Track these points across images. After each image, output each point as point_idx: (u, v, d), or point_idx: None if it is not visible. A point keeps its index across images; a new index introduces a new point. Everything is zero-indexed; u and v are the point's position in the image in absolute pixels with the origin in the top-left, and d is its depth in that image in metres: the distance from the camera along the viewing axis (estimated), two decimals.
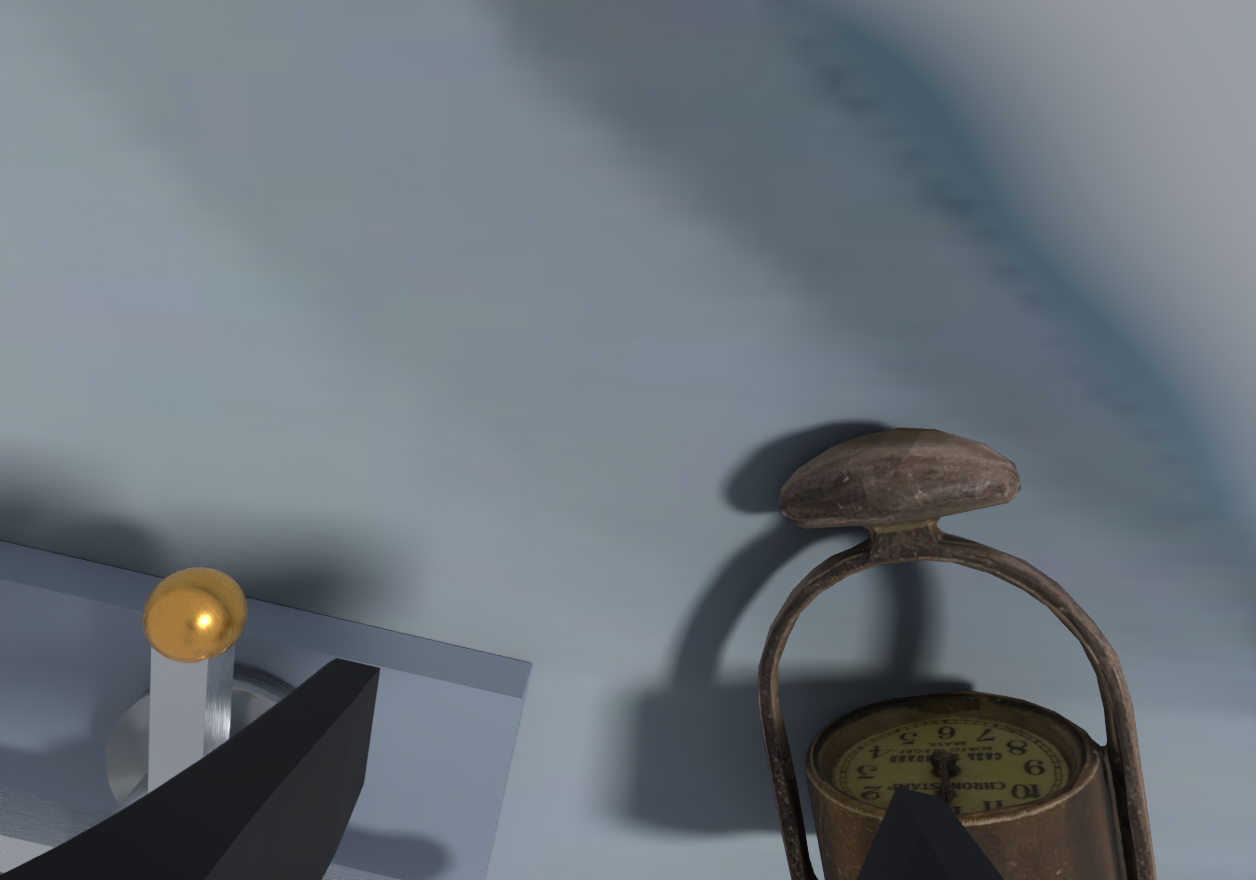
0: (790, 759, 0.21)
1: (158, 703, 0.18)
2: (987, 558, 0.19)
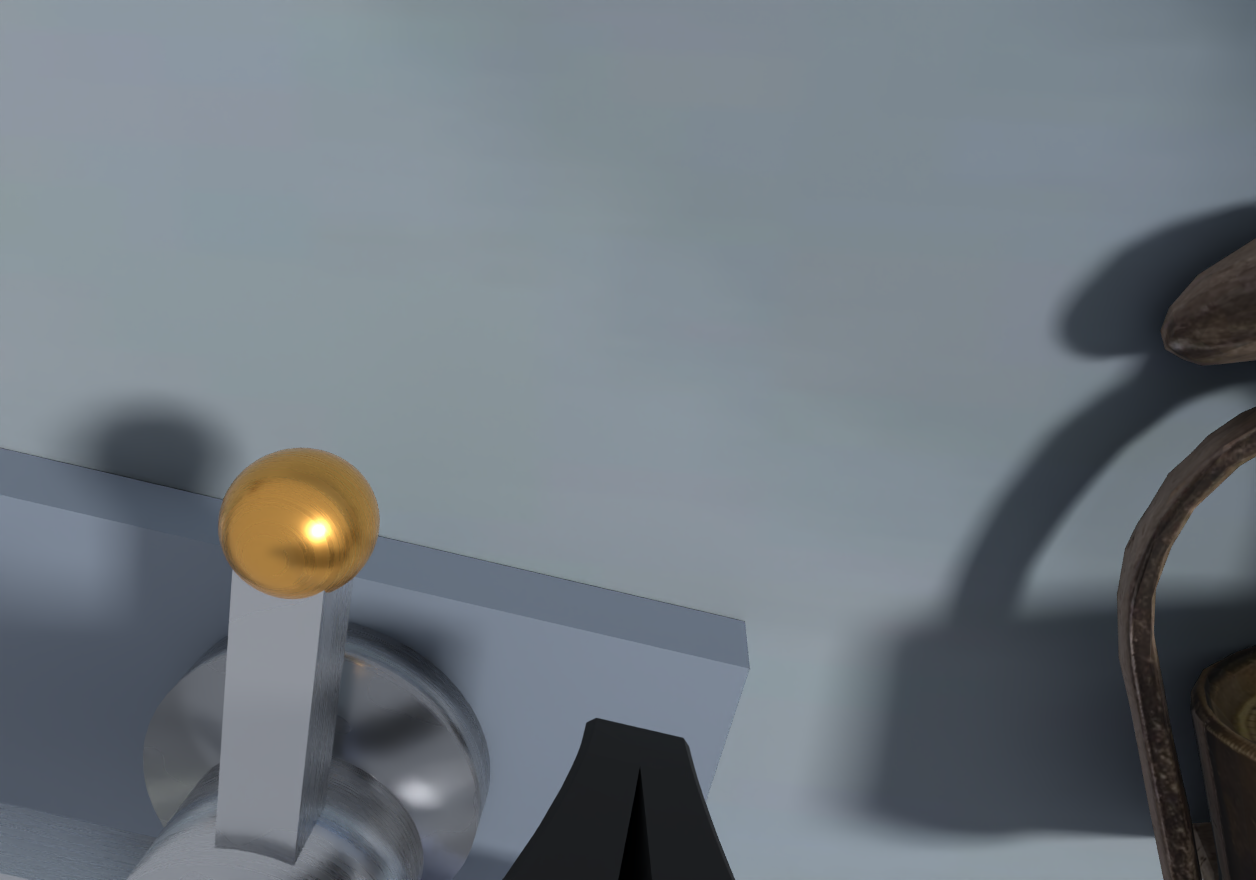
0: None
1: (239, 665, 0.12)
2: None
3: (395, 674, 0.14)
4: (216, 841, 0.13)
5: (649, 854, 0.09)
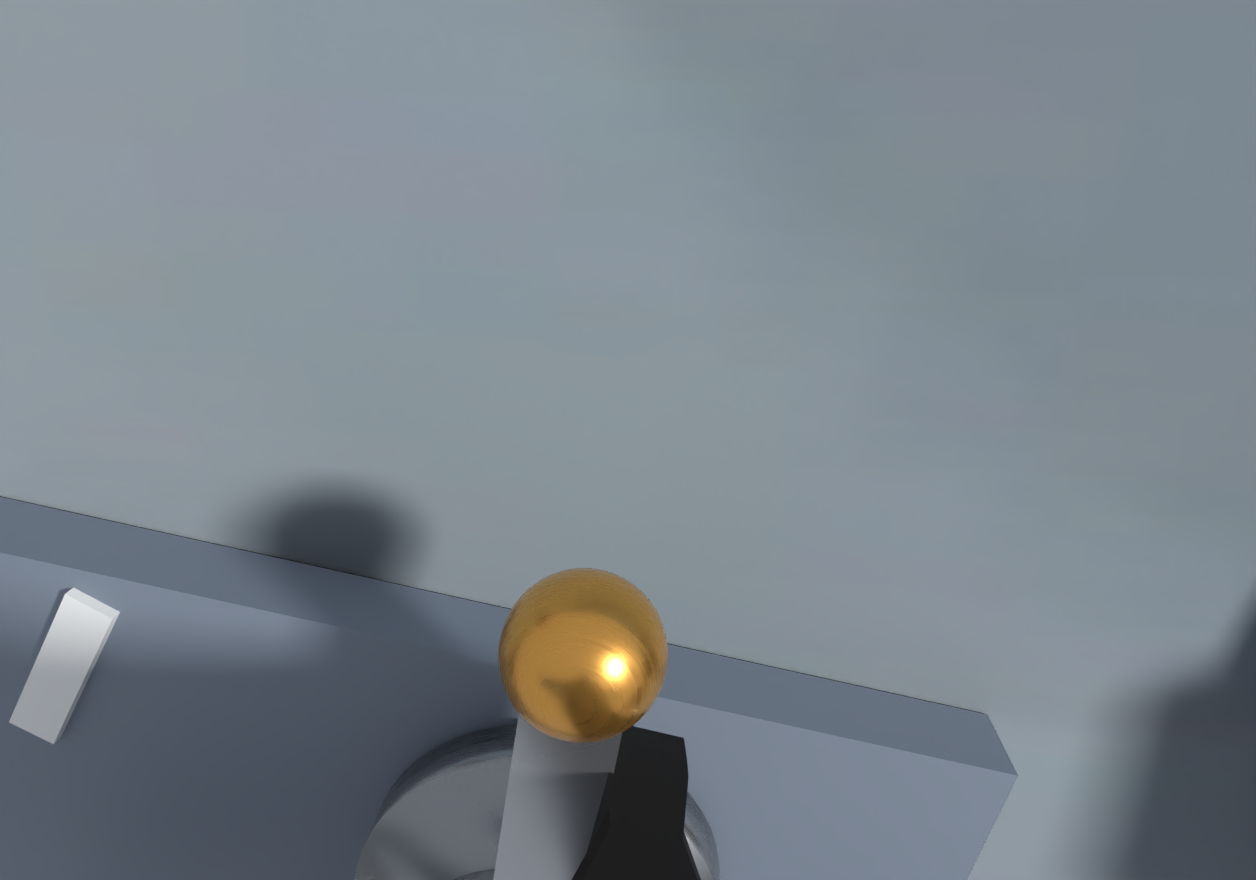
0: None
1: (518, 814, 0.10)
2: None
3: None
4: None
5: (612, 845, 0.09)
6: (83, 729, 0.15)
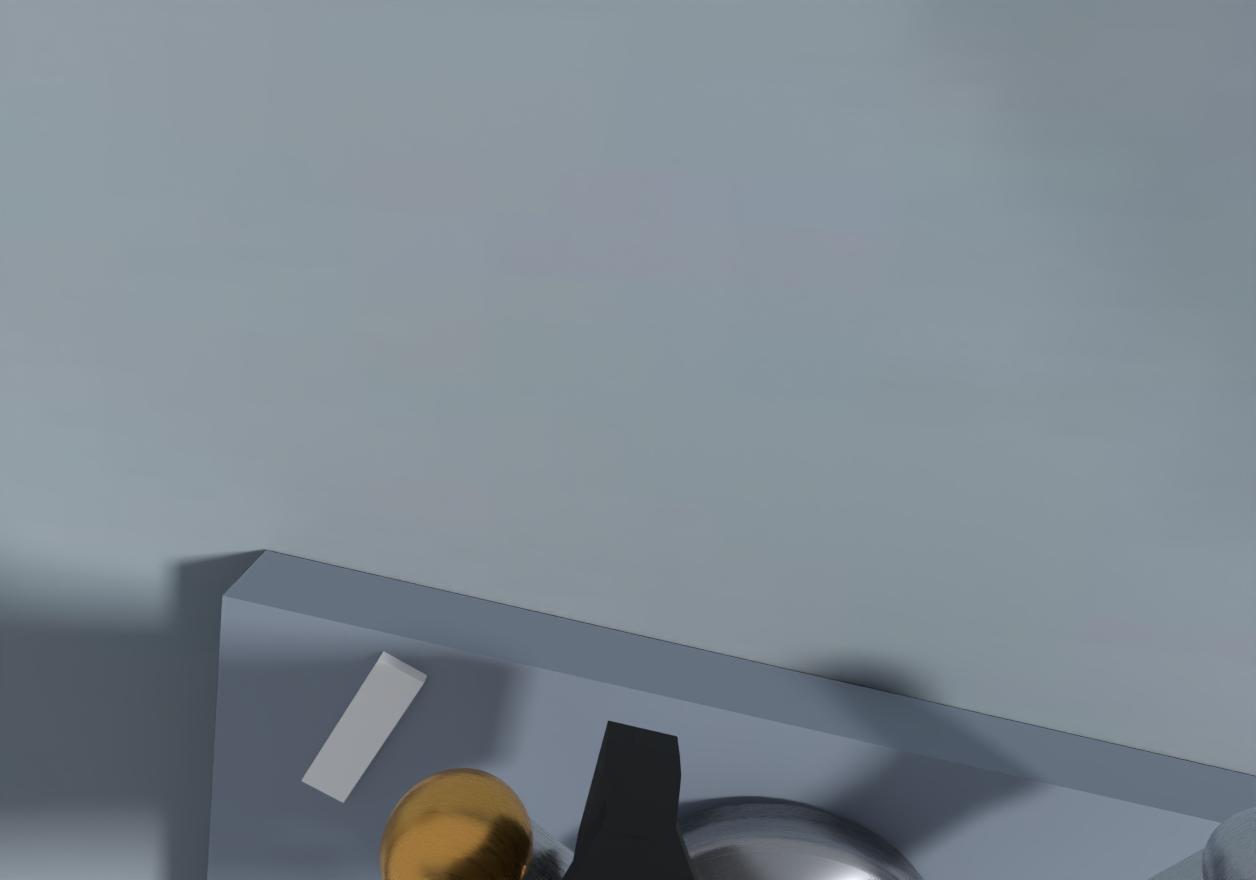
0: None
1: None
2: None
3: (702, 849, 0.14)
4: None
5: (608, 845, 0.09)
6: (371, 787, 0.15)
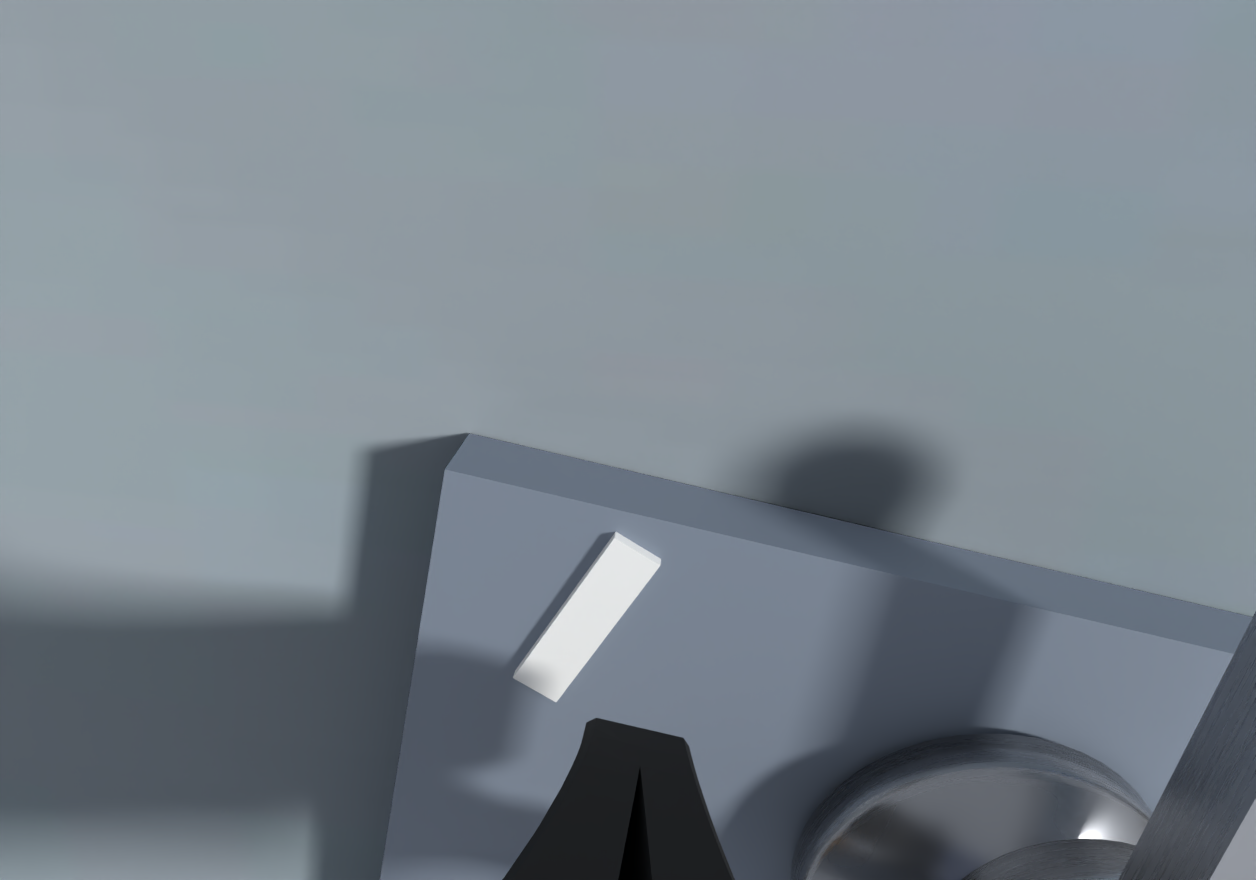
0: None
1: None
2: None
3: (834, 835, 0.13)
4: None
5: (649, 854, 0.09)
6: (584, 687, 0.14)
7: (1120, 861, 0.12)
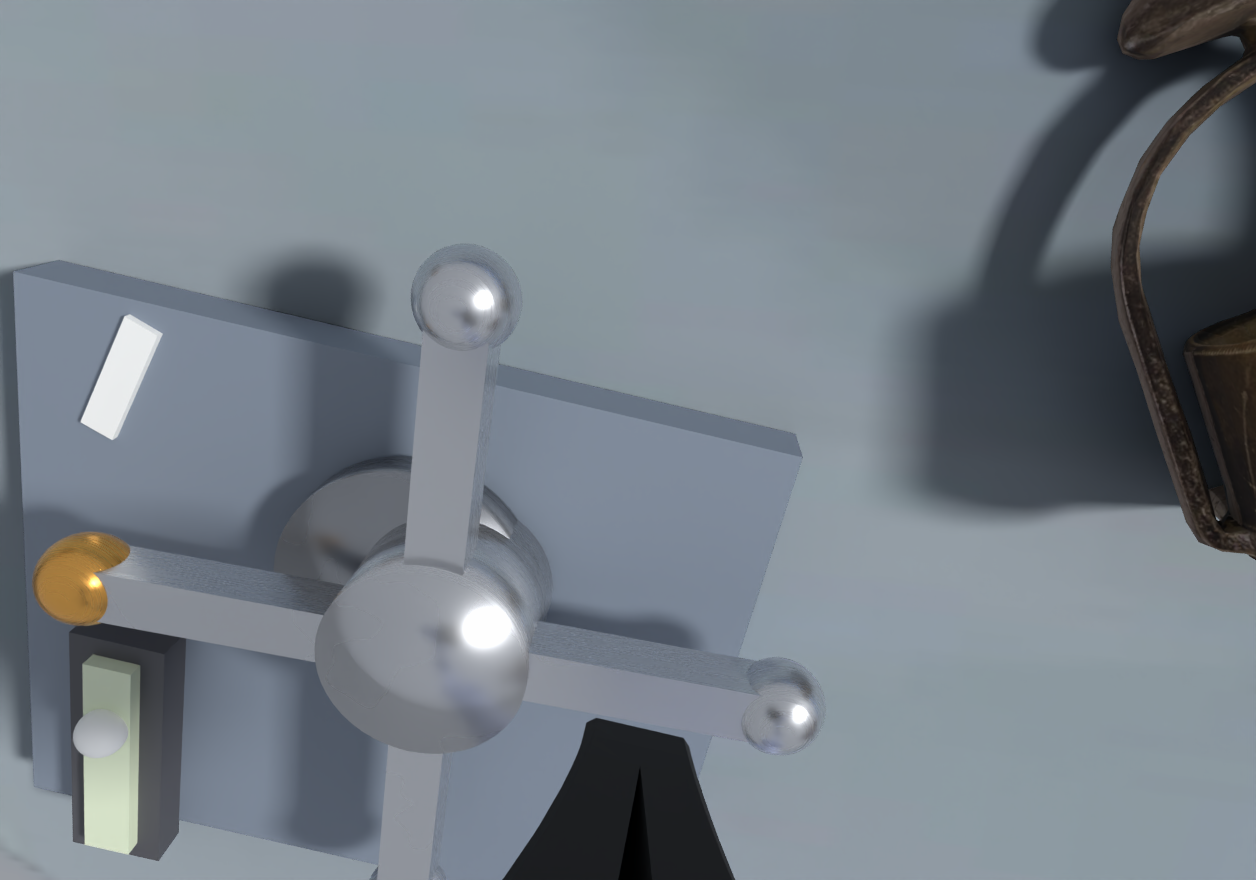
0: None
1: (164, 627, 0.18)
2: None
3: None
4: None
5: (649, 854, 0.09)
6: (133, 431, 0.20)
7: None
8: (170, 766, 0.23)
